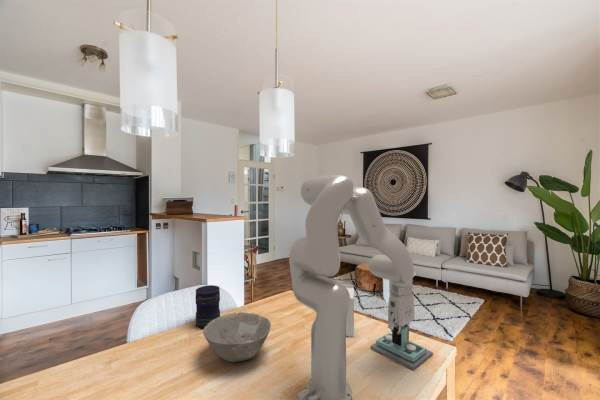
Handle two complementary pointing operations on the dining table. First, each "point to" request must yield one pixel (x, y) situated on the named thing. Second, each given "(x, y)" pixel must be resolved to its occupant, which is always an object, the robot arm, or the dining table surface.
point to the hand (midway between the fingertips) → (400, 341)
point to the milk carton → (350, 312)
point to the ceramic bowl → (237, 335)
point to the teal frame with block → (402, 346)
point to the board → (398, 358)
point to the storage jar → (207, 305)
